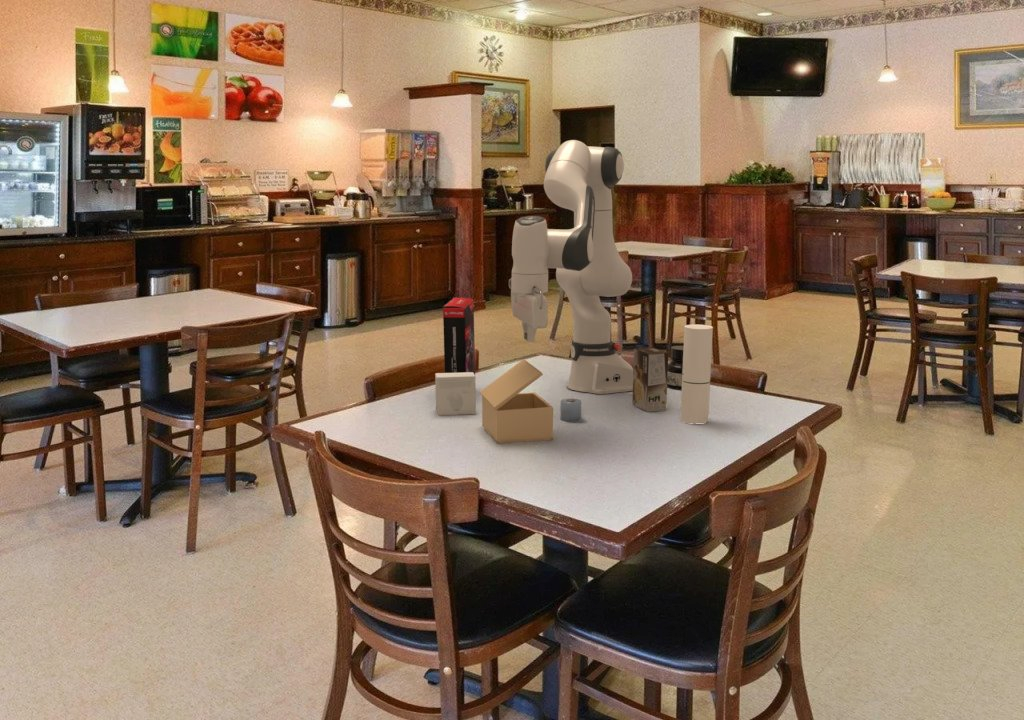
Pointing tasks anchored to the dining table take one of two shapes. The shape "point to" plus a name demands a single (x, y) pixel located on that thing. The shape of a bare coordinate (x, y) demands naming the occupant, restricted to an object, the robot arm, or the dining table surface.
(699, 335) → the cylindrical container
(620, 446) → the dining table surface
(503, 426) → the carton
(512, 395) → the lid flap
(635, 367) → the coffee box
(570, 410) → the tape roll
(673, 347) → the ink bottle
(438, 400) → the skincare box
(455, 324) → the graphics card box
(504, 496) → the dining table surface
